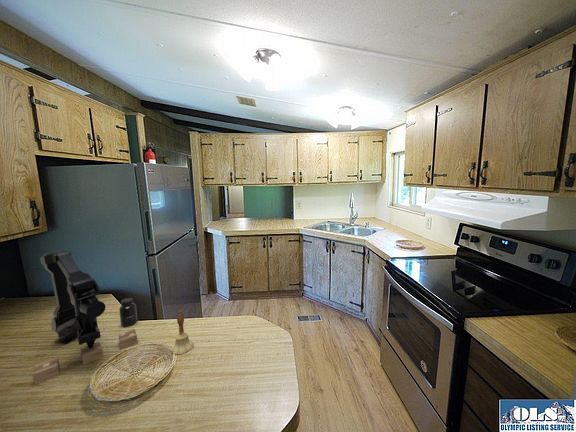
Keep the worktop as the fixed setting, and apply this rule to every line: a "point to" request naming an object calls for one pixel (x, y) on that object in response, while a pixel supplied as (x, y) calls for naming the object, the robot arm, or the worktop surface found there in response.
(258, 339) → the worktop surface
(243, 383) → the worktop surface
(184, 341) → the hand bell
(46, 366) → the one-pip walnut block
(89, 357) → the plain walnut block
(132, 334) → the two-pip walnut block
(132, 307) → the supplement bottle
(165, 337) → the worktop surface
